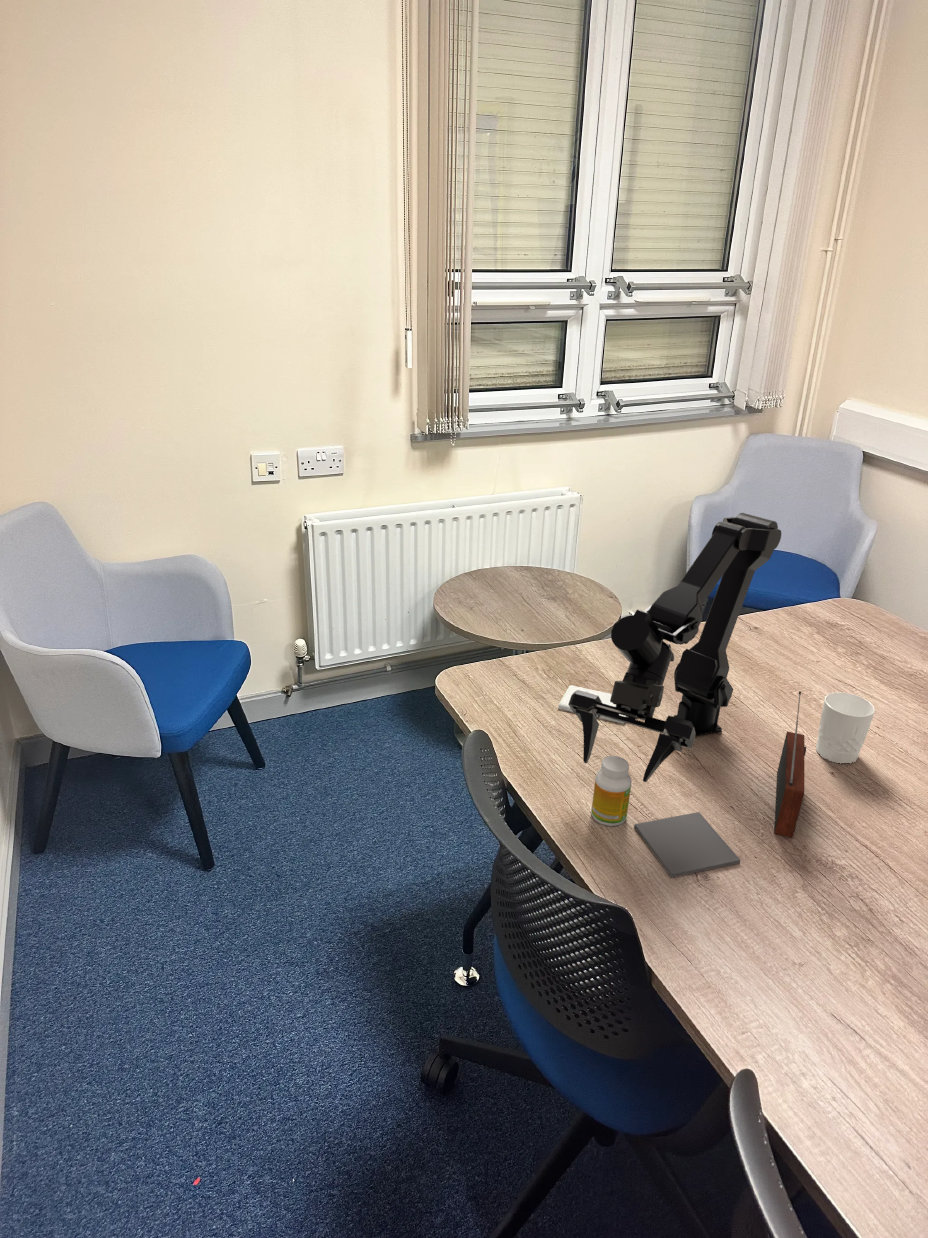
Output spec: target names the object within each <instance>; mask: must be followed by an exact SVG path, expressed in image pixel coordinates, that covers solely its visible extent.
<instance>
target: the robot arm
mask: <svg viewBox="0 0 928 1238" xmlns="http://www.w3.org/2000/svg"><path fill="white" fill-rule="evenodd" d="M781 538H782V530H781V529H779V527H778V523H777V521H775V520H772V519H769V518H768V519H767V518H764V517H761V516H760V517H759V516H756V515H752V514H749V513H745V512H739V513H738V514H737V515H736V516H735V517H734V516H732V517H723V519H722V521H718V522H717V523H716V524H715V525H714V527H713V530H712V532H711V537H710V538H709V540H708V541H707V543H706V544H705V545H704V547H703V548H702V550H701V552H699V554H698V555H697V557H696V559H695V560H694V561H693V562H692V564H691V566H690V567H689V568H688V570H687V571H686V573H685V574H684V576H683V577H682V579H681V580H680V581H679V582H678V583H677V585H675V586H673V587H672V588H669V589H667V590H664V591H663V592H662V593H661V594H660V595H659V596H658V597H657V598H656V599H655V601H654V602H653V603H652V604H650V605H649V606H648V607H646V609H643V610H642V609H639V608H637V609H636V610H635V612H634V614H633V615H627V616H624V617H622V618H621V619H619V620H618V621H617V622H614V624H613V626H612V628H611V632H610V640H611V642H612V644H613V645H614V646H615V647H616V648H617V649H618V651H619V653H621V654H622V655H623V657H624V658H625V659H626V660H627V661H628V662H629V665H628V666H627V667H628V668H627V671H626V672H625V674H624V675H623V679H622V680H614V684H613V687H612V691H611V694H612V695H611V699H610V702H612V703H613V704H616V706H615V707H614V706H610V705H607V704H603V703H602V701H601V700H600V698H599V696H598V695H594V694H591V693H587V692H584V691H580V690H577V691H575V692H574V693H573V694H572V695H571V698H570V701H569V704H568V705H569V706H570V708H571V709H572V711H573V712H572V713H574V715H576V717H577V718H578V719H579V721H580V722H581V725H582V731H583V734H582V735H583V763H584V764H588V762H589V760H590V757H591V755H592V752H593V749H594V744H595V741H596V737H597V734H598V729H599V726H600V724H599V722H598V719H600V718H599V717H600V715H601V716H604V717H608V718H611V719H614V720H618V721H621V722H625V723H624V724H629V725H632V726H636V727H639V728H642V729H647V730H649V731H654V732H655V733H656V732H657V733H659V735H658V737H657V742H656V745H655V747H654V750H653V752H652V754H651V757H650V759H649V761H648V764H647V766H646V769H645V771H644V773H643V774H644V775H643V778H642V781H643V783H647V782H648V781H649V779H651V777H652V776H653V775H654V773H656V771H657V770H658V768H659V767H660V765H662V763H663V762H664V761H666V760H667V758H669V756H671V755H672V754H673V752H675V751H678V752H682V750H683V747H684V748H686V749H693V745H694V742H695V739H696V736H704V735H709V734H710V735H711V734H715V733H721V732H722V731H723V728H722V727H721V725H719V724H718V723H719V717H720V712H721V708H727V707H728V706H729V702H730V700H731V698H732V696H733V691H734V688H733V686H732V685H731V683H730V681H729V680H728V675H729V671H730V664H729V659H728V656H727V648H728V645H729V643H730V640H731V637H732V634H733V632H734V629H735V626H736V624H737V622H738V619H739V616H740V614H741V610H742V608H743V605H744V602H745V599H746V596H747V593H748V592H749V589H750V586H751V583H752V580H753V577H754V575H755V572H756V571H757V570H759V568H761V567H762V566H763V565H764V564H766V563H767V562H768V561H770V559H771V557H772V555H773V553H774V551H775V550H776V549H777V548H778V546H779V544H780V542H781ZM718 583H719V585H718V586H717V584H718ZM716 586H717V589H716V591H715V595H714V598H713V599H712V600H713V601H712V603H711V606H710V609H709V611H708V614H707V616H706V620H705V623H704V625H703V628H702V631H701V634H700V636H699V639H698V642H696V643H695V644H694V645H692V647H689V648H686V649H685V650H683V652H682V653H681V657H680V659H679V663H678V664H677V665H676V667H675V670H674V673H673V674H674V675H673V678H674V690H675V692H677V693H680V694H681V701H679V703H678V707H677V713H676V714H675V715H668V716H667V717H666V719H665V720H662V719H659V718H655V717H654V713H655V710H656V708H659V707H660V706H661V704H662V701H663V696H664V689H665V685H664V681H665V680H666V679H665V678H666V676H667V673H668V669H669V667H670V663H671V662H674V661H675V655H674V653H673V652H674V651H673V650H672V647H671V646H672V645H671V644H669V643H672V644H675V645H686V644H688V643H689V642H690V641H692V640H694V639H695V637H696V635H697V634H698V633H699V631H700V630H699V629H700V628H699V627H700V625H701V623H702V621H703V606H704V604H705V602H706V600H707V599H708V598H709V596H710V595H711V593H712V592H713V590H714V588H715V587H716ZM666 641H668V642H669V643H666ZM619 714H621V715H623V716H620V715H619ZM624 716H627V717H624Z"/></svg>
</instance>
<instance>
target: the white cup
mask: <svg viewBox="0 0 928 1238" xmlns="http://www.w3.org/2000/svg"><path fill="white" fill-rule="evenodd" d="M823 699H824V700H823V704H822V711H821V715H820V721H819V727H818V732H817V740H816V743H815V744H816V746H815V749H816V752H818V753H819V754H820V757H821V758H823V759H825V760H827V759H828V760H827V761H829V762H831V761H832V762H831V763H834V762H835V764H838V763H840V764H839V765H842V764H841V763H850V764H852V762H853V763H855V762H856V761H857V760H858V758H859V756H860V752H861V749H862V748H863V746H864V743H865V740H866V738H867V735H868V732H869V729H870V726H871V723H872V721H873V718H874V715H875V713H876V708H875V706H874V704H873V703H872V702H870V701H869V700H868V699H866V698H864V697H863V696H860V695H857V694H854V693H850V692H849V693H848V692H844V691H842V692H841V691H836V692H830V693H828V694H826V695H825V697H824V698H823ZM818 753H817V754H818ZM819 754H818V755H819Z"/></svg>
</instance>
